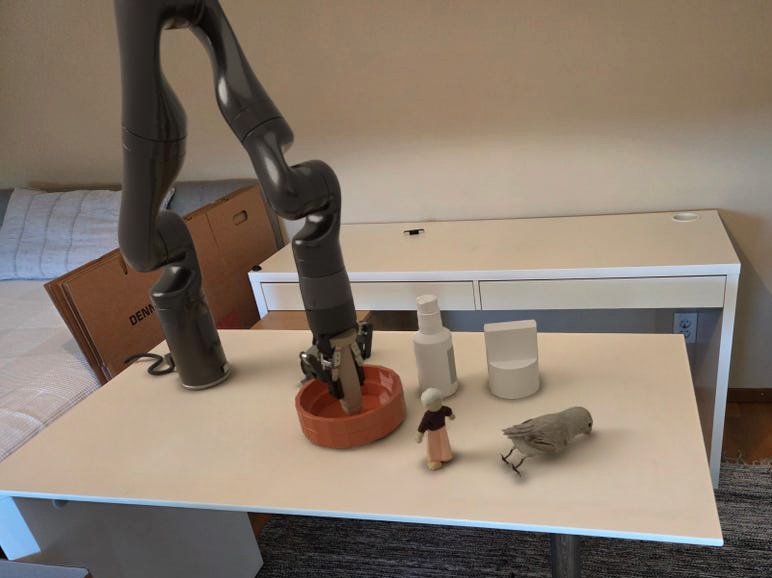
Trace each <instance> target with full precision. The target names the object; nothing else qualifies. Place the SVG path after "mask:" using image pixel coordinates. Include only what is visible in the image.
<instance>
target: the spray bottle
mask: <svg viewBox="0 0 772 578" xmlns="http://www.w3.org/2000/svg"><path fill="white" fill-rule="evenodd" d="M416 306H417V310H416V314H417V321H418V322H417V324H418V330H417V331H415V332H414V334H413V335H412V346H413V351H414V358H415V365H416V370H417V377H418V384H419V389H420V393H421V394H422V393H423V392H425V391H426V390H427V389H429V388H436V389H439V390H440V391H442V393H443V395H444V397H443V399H445V398H448V397H450V396H453V395H454V394H455V393H456V392H457V390H458V388H459V383H458V374H457V367H456V366H457V365H456V359H455V352H454V351H455V350H454V343H453V334H452V332H451V330H450V329H449V328H447V327H446V326H444V325H443V321H442V315H441V308H440V307H439V303H438V297H437V295H435V294H430V293H429V294H423V295H420V296H418V297H416Z"/></svg>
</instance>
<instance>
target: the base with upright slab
mask: <svg viewBox="0 0 772 578" xmlns="http://www.w3.org/2000/svg"><path fill="white" fill-rule="evenodd" d="M483 335H484V345H485V355H486V364H487V365H486V366H487V375H488V387H489V391H490V392H491V393H492V395H494V396H496V397H498V398H501V399H505V400H506V399H507V400H518V399H524V398H528V397H530V396H532V395H534V394H535V393H536V392H537V391H538V390H539V388H540V367H539V366H540V365H539V364H540V363H539V347H538V328H537V321H536V319H526V320H525V319H524V320H515V321H503V322H502V321H501V322H492V323H491V322H490V323H484V326H483Z"/></svg>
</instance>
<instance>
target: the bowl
mask: <svg viewBox="0 0 772 578" xmlns="http://www.w3.org/2000/svg"><path fill="white" fill-rule="evenodd" d="M363 370H364V375H365V381H364V385H363V386H362V387H360V388H361V397H362V401H361V403H362V405H363V409H362V410H361V411H360V412H359V413H358V414H353V415H347V413H345V412H344V411H343V409H342V405H341V403H340V400H339V399H337V398H334V397H333V396H331V395H330V394H329V390H328V385H327V383H323V382H322V381H319V380H316V379H314V378H313V379H311V380H309V381H307V382H305V383H304V385H303V386H302V387H300V389H299V390H298V392H297V394H296V395H295V398H294V404H295V410H296V413H297V417H298V421H299V425H300V428H301V432H302V433H303V435H304V437H306V439H307V440H308V441H309V442H311V443H313V444H315V445H316V446H317V445H318V446H319V447H320V446H321V447H326V448H333V449H340V448H341V449H343V448H353V447H358V446H362V445H366V444H370V443H372V442H374V441H376V440H379V439H381V438H384V437H386V436H387V435H389V434H390V433H392V432H393V431H394V430H396V429H397V428H398V427H399V425H400V424H401V423H402V422H403V420H404V419H405V416H406V412H407V405H406V397H405V393H404V387H403V383H402V379H401V376H400V375H399V374H398V373H397V372H396V371H394V369H392V368H389V367H387V366H383V365H378V364H370V363H365V364H363Z"/></svg>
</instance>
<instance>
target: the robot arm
mask: <svg viewBox="0 0 772 578" xmlns="http://www.w3.org/2000/svg"><path fill="white" fill-rule="evenodd" d="M112 5H113V13H114V21H115V22H114V23H115V28H116V38H117V45H118V56H119V71H120V72H119V73H120V95H121V97H120V98H121V106H120V107H121V108H120V129H121V130H120V137H121V138H120V140H121V141H120V142H121V154H122V155H121V156H122V159H121V160H122V161H121V162H122V166H121V167H122V168H121V169H122V171H121V172H122V173H121V174H122V175H121V196H120V203H119V204H120V205H119V215H118V223H117V242H118V243H117V244H118V248H119V251H120V254H121V256H122V258H123V260H124V262H125V263H126V264H127V266H129V267H130V268H131V269H132V270H133V271H135V272H138V273H142V274H144V273H145V274H146V273H153V272H156V271H159V270H161V269H163V270H162V273H161V275H160V276H159V278H158V279H157V280H156V282H155V283H153V285H152V286H151V287H150V288H149V291H148V295H149V299H150V302H151V304H152V305H151V306H152V307H153V309H154V310H153V311H154V312H155V315H156V318H157V320H158V323H159V326H160V328H161V331H162V334H163V336H164V339H165V342H166V345H167V347H168V350H169V352H168V353H165V354H163V356H162V355H160V354H157V353H153V352H138V353H134V354H131V355H128V356H127V357H126V358H125V359H123V362H122V364H123V365H126V364H129V363H130V361H132V360H135V359H138V358H151V359H157V360H156V361H155V362H153V363H152V364H151V365H150V366H149V367H148V368H147V373H148V374H149V375H153V376H162V375H167V374H170V373H172V372H173V371H174V370H175V369H176V372H177V374H178V377H179V380H180V383H181V386H182V387H183V388H184V389H187V390H191V391H192V390H193V391H194V390H195V391H196V390H197V391H198V390H203V389H204V390H205V389H208V388H211V387H214V386H217V385H218V384H221V383H222V382H224V381H225V380H227V378H229V376H230V375H231V373H232V371H231V370H232V369H231V365H230V362H229V360H228V359H227V356H226V352H225V350H224V347H223V344H222V340H221V337H220V334H219V332H218V328H217V326H216V323H215V319H214V316H213V313H212V310H211V307H210V304H209V302H208V298H207V295H206V292H205V289H204V274H203V271H202V267H201V263H200V260H199V256H198V251H197V247H196V243H195V240H194V238H193V234H192V232H191V230H190V227H189V225H188V224H187V222H186V221H185V220H184V218H183V217H182V216H181V215H180V214H178V213H177V212H176V211H174V210H172V209H161V207H162V205H163V203H164V201H165V199H166V197H167V196H168V194H169V192H170V191H171V190H172V188H173V186H174V184H175V183H176V181H177V180H178V177H179V176H180V174H181V172H182V170H183V168H184V166H185V163H186V160H187V155H188V144H189V143H188V142H189V118H188V114H187V112H186V109H185V107H184V105H183V103H182V101H181V100H180V98H179V97H178V95H177V93H176V91H175V90H174V88H173V87H172V85H171V83H170V82H169V79H167V76H166V74H165V72H164V70H163V65H162V50H161V49H162V48H161V46H162V45H161V44H162V35H163V32H164V31H172V30H174V31H175V30H186V29H187V30H189V31H190V32H191V33H192V34H193V35H194V36H195V38H196V39H197V40H198V41H199V43H200V44H201V45H202V47H203V49H204V50H205V52H206V54H207V57H208V59H209V62H210V67H211V72H212V81H213V83H212V84H213V91H214V97H215V102H216V105H217V107H218V110H219V112H220V114H221V116H222V118H223V120H224V122H225V123H226V125H227V126H228V127H229V129H230V131H231V132H232V133H233V135H234V136H235V138H236V139H237V140H238V142H239V143H240V145H241V146H242V147H243V149H244V150H245V152H246V153H247V155H248V157H249V161H250V162H251V166H252V168H253V170H254V173H255V175H256V178H257V180H258V184H259V186H260V189H261V192H262V194H263V197H264V199H265V201H266V203H267V205H268V206H269V208H270V209H271V210H272V211H273V212H274V213H275V214H276V215H277V216H278V217H280V218H282V219H284V220H287V221H289V222H295V221H299V220H303V219H304V218H305V219H304V220H305V221H304V224H303V226H302V228H301V229H300V230H299V231H297V232H296V233H295V234H294V235H293V236H292V238H291V243H290V244H291V245H290V246H291V250H292V256H293V259H294V264H295V268H296V272H297V277H298V287H299V291H300V295H301V300H302V303H303V307H304V312H305V316H306V321H307V324H308V327H309V330H310V332H311V334H312V339H311V346H310V347H309V348H308V349H307V350H306V351H303V350H302V351H300V352H299V354H298V358H299V359H300V361H301V360H302V362H303V363H304V365H305V366H306V368H307V369H308V371H309V372H310V373H311V375H312V376H313V378H314V379H316V380H319V381H322V382H323V383H327V385H328V390H329V394H330V395H331V396H333V397H334V398H337V399H339V400H340V399H342V398H344V394H343V390H342V386H341V381H340V379H338V377H339V367H340V365H341V350H342V347H337V346H336V345H335V346H334V347H333V348H331V343H330V341H329V339H331V338H333V337H335V336H337V335H339V334H341V333H343V332H345V331H347V330H348V329H350V328H354V329H356V333H357V343H356V340H355V341H354V342H353V343H351V344H350V345H349V346H350V350H351V353H352V357H353V361H354V364H355V368H356V371H357V375H358V378H359V383H360V387H362V386H363V385H364V381H365V375H364V370H363V364H364V363H365V361H366V360H367V359H370V358H371V356H372V345H373V336H374V335H373V334H374V324H372V323H370V322H367V321H364V320H360V321H358V315H357V311H356V306H355V301H354V296H353V291H352V286H351V281H350V277H349V274H348V272H347V269H346V264H345V261H344V256H343V255H344V254H343V250H342V245H341V240H340V237H341V236H340V234H341V226H342V225H341V222H342V203H343V202H342V200H343V198H342V188H341V182H340V180H339V178H338V175H337V174H336V172H335V171H334V169H333V168H332V167H331V166H330V164H328V163H327V162H325V161H323V160H321V159H308V160H305V161H302V162H300V163H297V164H293V165H290V166H289V165H288V163H287V161H286V158H285V154H286V153H288V152H289V151H290V150H291V149H292V148H293V146H294V145H295V142H296V141H295V139H296V137H295V133H294V131H293V129H292V127H291V125H290V124H289V122H288V121H287V120H286V118H285V116H284V115H283V114H282V112H281V111H280V109H279V108H278V106H277V105H276V104H275V102H274V101H273V99H272V98H271V96H270V95H269V94H268V92H267V91H266V89H265V87H264V86H263V84H262V83H261V81H260V79H259V78H258V76H257V74H256V73H255V71H254V69H253V68H252V65H251V64H250V62H249V60H248V57H247V56H246V54H245V51H244V49H243V47H242V46H241V44H240V41H239V39H238V37H237V34H236V33H235V31H234V28H233V26H232V24H231V23H230V21H229V18H228V16H227V15H226V13H225V10H224V8H223V6H222V4H221V2H220V0H112ZM357 321H358V322H357ZM363 348H364V350H363ZM318 351H319V352H320V353H321V363H322V365H323V368H322V366H321V365H320V363H319V362H318V361H319V360H320V359H319V357H318ZM331 359H333V360H331ZM164 360H165V362H166V365H167V366H169V367H167V368H166V369H162V370H155V369H156V368H157V367H158V366H160V365H161V364H162V363H163V362H164Z"/></svg>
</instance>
